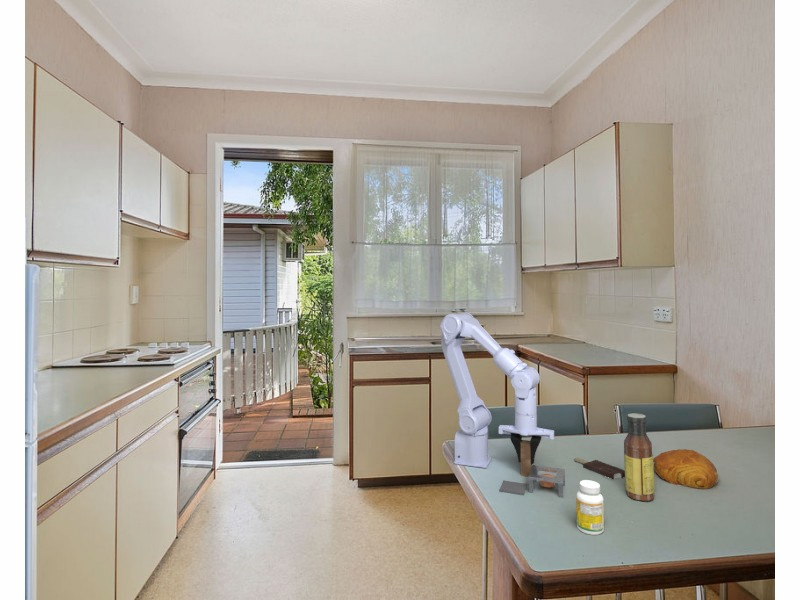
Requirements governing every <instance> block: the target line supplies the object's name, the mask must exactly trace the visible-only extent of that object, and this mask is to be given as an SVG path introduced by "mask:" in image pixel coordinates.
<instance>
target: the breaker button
mask: <svg viewBox="0 0 800 600" xmlns="http://www.w3.org/2000/svg"><path fill="white" fill-rule="evenodd" d="M540 475H541V476H548V477H555V476H554V475H552V474H549V473H542V474H540ZM539 484H540V486H542V487H544V488H553V487H554V486H555V483H554V482H547V481H540V480H539Z"/></svg>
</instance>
